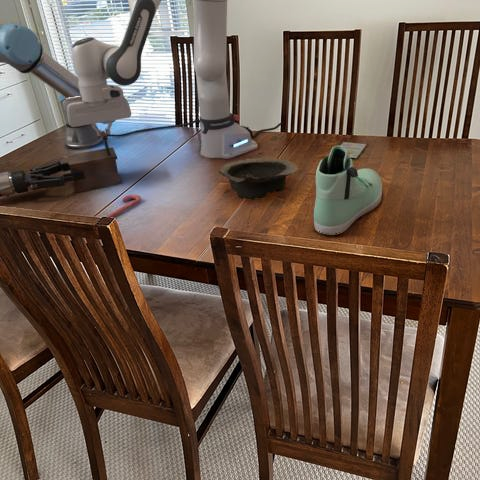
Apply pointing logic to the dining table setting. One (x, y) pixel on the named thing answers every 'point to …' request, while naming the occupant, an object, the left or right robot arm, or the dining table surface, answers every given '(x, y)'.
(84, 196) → the dining table surface
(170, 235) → the dining table surface
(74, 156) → the lid
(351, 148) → the baking ingredient package
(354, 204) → the sneaker
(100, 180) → the chest
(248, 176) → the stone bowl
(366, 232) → the dining table surface
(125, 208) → the candy cane
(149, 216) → the dining table surface
